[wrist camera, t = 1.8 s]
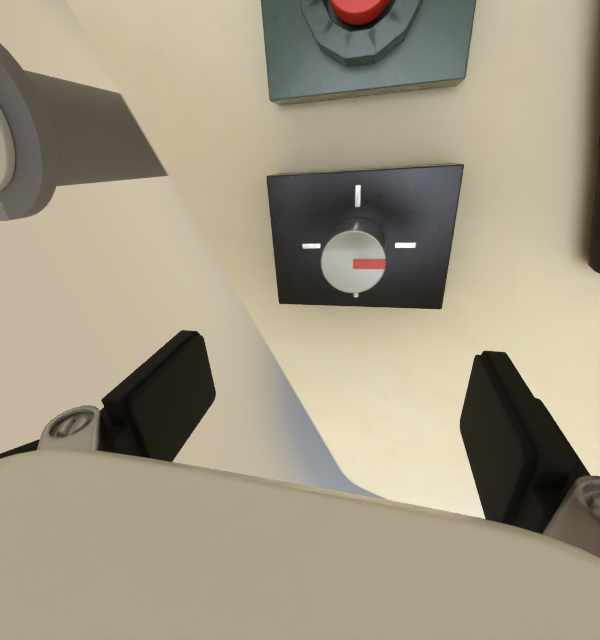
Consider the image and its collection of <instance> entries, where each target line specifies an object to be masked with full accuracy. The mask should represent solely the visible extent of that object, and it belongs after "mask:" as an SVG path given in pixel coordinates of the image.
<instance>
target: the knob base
mask: <svg viewBox="0 0 600 640" xmlns="http://www.w3.org/2000/svg"><path fill="white" fill-rule="evenodd" d="M463 169H464V165H463V164H455V163H450V164H433V165H417V166H401V167H384V168H368V169H351V170H335V171H318V172H302V173H285V174H275V175H270V176H267V187H268V197H269V207H270V217H271V227H272V237H273V247H274V257H275V267H276V277H277V287H278V297H279V304H303V305H332V306H362V307H392V308H422V309H442V303H443V297H444V291H445V284H446V278H447V271H448V265H449V259H450V252H451V246H452V239H453V233H454V226H455V220H456V214H457V207H458V201H459V194H460V188H461V181H462V175H463ZM357 217H359V218H366V219H369V220H371V221H373V222H374V223H375V224H377V225H378V226H379V228H380V229H381V231H382V233H383V235H384V238H385V248H386V269H385V272H384V274H383V276H382V278H381V279H380V280H379V282H378V283H377V284H376V285H375V286H373V287H372V288H370V289H368V290H366V291H363V292H359V293H347V292H343V291H340V290H338V289H336V288H335V287H333V286H332V285H331V284H330V283H329V282H328V281H327V280H326V278H325V276H324V275H323V272H322V268H321V255H322V252H323V249H324V247H325V245H326V244H327V242H328V240H329V239H330V237H331V235H332V233H333V232H334V230H335V229H336V228H337V226H338V225H340V224H341V223H342V222H344V221H345V220H348V219H351V218H357Z"/></svg>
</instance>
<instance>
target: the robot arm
mask: <svg viewBox="0 0 600 640" xmlns="http://www.w3.org/2000/svg"><path fill="white" fill-rule="evenodd" d="M14 169H15V148H14V142H13V138H12V134H11V130H10V128H9V125H8V123H7V120H6V117H5V115H4V113H3V111H2V109H1V107H0V191H1V190H3V189H4V188H5V187H6V186H7V185H8V184H9V182H10V181H11V179H12V176H13V173H14ZM215 395H216V391H215V387H214V382H213V378H212V374H211V369H210V364H209V360H208V355H207V351H206V346H205V342H204V338H203V336H201V335H200V334H199V333H198V332H197V331H185V330H182V331H180V332H179V333H178V334H177V335H176V336H174V337H173V338H172V339H171V340H170V341H169V342H167V343H166V344H165V345H164V346H163V347H162V348H161V349H159V350H158V351H157V352H156V353H155V354H154V355H153V356H151V357H150V358H149V359H148V360H147V361H146V362H145V363H143V364H142V365H141V366H140V367H139V368H138V369H136V370H135V371H134V372H133V373H132V374H131V375H130V376H128V377H127V378H126V379H125V380H124V381H122V382H121V383H120V384H119V385H118V386H117V387H115V388H114V389H113V390H112V391H111V392H110V393H108V394H107V395H106V396H105V397H104V398H103V399H102V403H103V404H104V408H102V409H101V410H100V411H99V409H98V408H96V407H94V406H80V407H76V408H73V409H70V410H67V411H65V412H63V413H62V414H60V415H58V416H57V417H55V418H54V419H52V420H51V421H50V422H49V423H48V424H47V425H46V426H45V428H44V430H43V432H42V435H41V438H40V439H39V440H36V441H34V442H31V443H28V444H26V445H23V446H20V447H18V448H15V449H12V450H9V451H7V452H4V453H1V454H0V640H600V476H591V475H590V474H589V472H588V471H587V469H586V468H585V466H584V465H583V463H582V462H581V460H580V459H579V457H578V456H577V454H576V453H575V451H574V449H573V448H572V446H571V445H570V443H569V442H568V440H567V439H566V437H565V436H564V434H563V433H562V431H561V430H560V428H559V427H558V425H557V424H556V422H555V421H554V419H553V417H552V416H551V414H550V413H549V411H548V410H547V408H546V407H545V405H544V404H543V403H542V401H541V400H539V399H537V398H535V397H534V396H533V394H532V393H531V391H530V390H529V388H528V386H527V385H526V383H525V382H524V380H523V379H522V377H521V375H520V374H519V372H518V371H517V369H516V368H515V366H514V364H513V363H512V361H511V360H510V358H509V357H508V355H507V354H506V353H505V352H494V351H483V352H482V354H481V355H476V356H475V358H474V362H473V366H472V371H471V375H470V379H469V384H468V388H467V392H466V397H465V401H464V405H463V410H462V414H461V418H460V431H461V435H462V438H463V442H464V445H465V449H466V452H467V456H468V459H469V463H470V466H471V470H472V473H473V477H474V480H475V484H476V487H477V491H478V494H479V498H480V501H481V505H482V508H483V511H484V515H485V518H486V519H482V518H477V517H472V516H467V515H462V514H457V513H452V512H447V511H442V510H437V509H432V508H427V507H422V506H417V505H412V504H406V503H401V502H395V501H390V500H384V499H379V498H373V497H368V496H362V495H357V494H351V493H345V492H340V491H335V490H329V489H324V488H318V487H312V486H307V485H300V484H295V483H290V482H284V481H278V480H273V479H267V478H261V477H255V476H250V475H244V474H239V473H233V472H227V471H221V470H215V469H210V468H204V467H198V466H192V465H186V464H180V463H174V462H172V461H173V460H174V458H175V457H176V455H177V454H178V452H179V451H180V450H181V448H182V447H183V445H184V444H185V442H186V441H187V439H188V438H189V437H190V435H191V434H192V432H193V431H194V429H195V428H196V426H197V425H198V423H199V422H200V421H201V419H202V417H203V416H204V415H205V413H206V412H207V410H208V409H209V407H210V406H211V405H212V403H213V402H214V399H215Z"/></svg>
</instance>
